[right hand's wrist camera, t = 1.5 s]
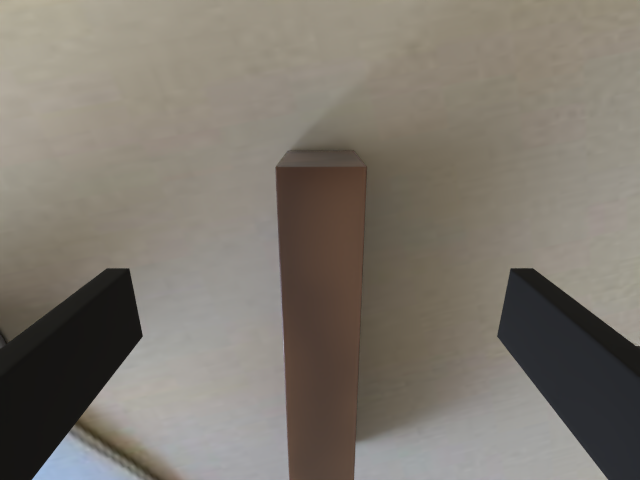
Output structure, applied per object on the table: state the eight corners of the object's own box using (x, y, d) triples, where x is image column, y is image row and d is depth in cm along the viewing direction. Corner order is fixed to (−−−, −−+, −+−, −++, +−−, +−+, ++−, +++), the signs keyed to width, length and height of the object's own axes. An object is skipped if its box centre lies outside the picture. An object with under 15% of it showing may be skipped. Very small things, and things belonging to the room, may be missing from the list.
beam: (354, 150, 27) (367, 166, 20) (345, 446, 38) (351, 531, 30) (287, 150, 27) (275, 166, 20) (297, 446, 38) (291, 531, 30)
